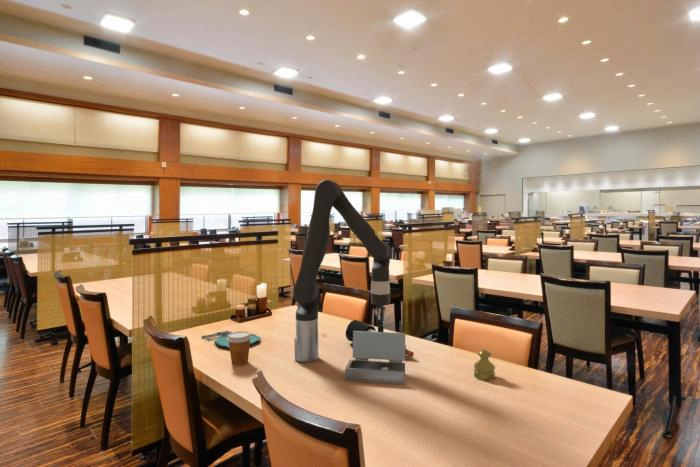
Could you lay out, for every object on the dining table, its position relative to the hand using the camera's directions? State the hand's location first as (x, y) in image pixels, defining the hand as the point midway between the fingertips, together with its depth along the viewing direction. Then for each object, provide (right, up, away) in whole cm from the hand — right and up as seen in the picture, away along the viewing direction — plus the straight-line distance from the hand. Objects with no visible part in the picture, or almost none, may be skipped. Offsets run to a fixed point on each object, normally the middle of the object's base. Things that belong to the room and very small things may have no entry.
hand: (380, 334), depth 159 cm
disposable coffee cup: (-57, -13, +4) cm, 59 cm away
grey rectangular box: (-2, -13, -11) cm, 17 cm away
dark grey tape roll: (+1, -13, -12) cm, 18 cm away
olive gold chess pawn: (+37, -13, -12) cm, 41 cm away
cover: (-1, -3, -7) cm, 8 cm away
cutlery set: (-69, -12, +33) cm, 78 cm away
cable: (+1, -12, +17) cm, 21 cm away
